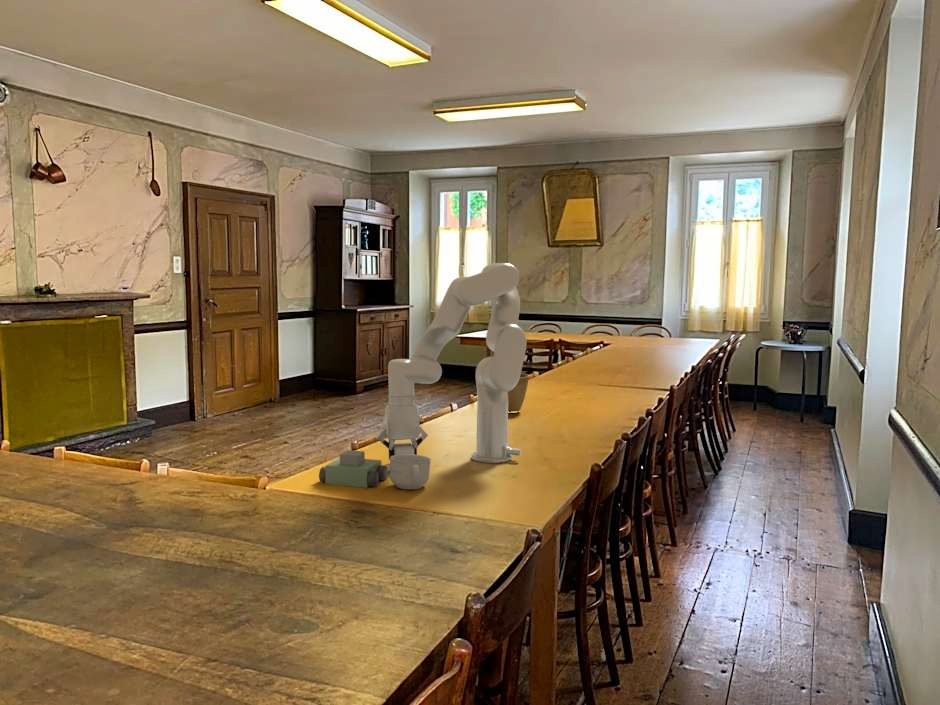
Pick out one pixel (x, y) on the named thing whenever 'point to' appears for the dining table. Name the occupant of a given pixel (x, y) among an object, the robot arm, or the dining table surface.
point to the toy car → (354, 470)
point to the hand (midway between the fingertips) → (402, 460)
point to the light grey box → (403, 448)
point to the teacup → (409, 470)
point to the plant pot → (518, 393)
